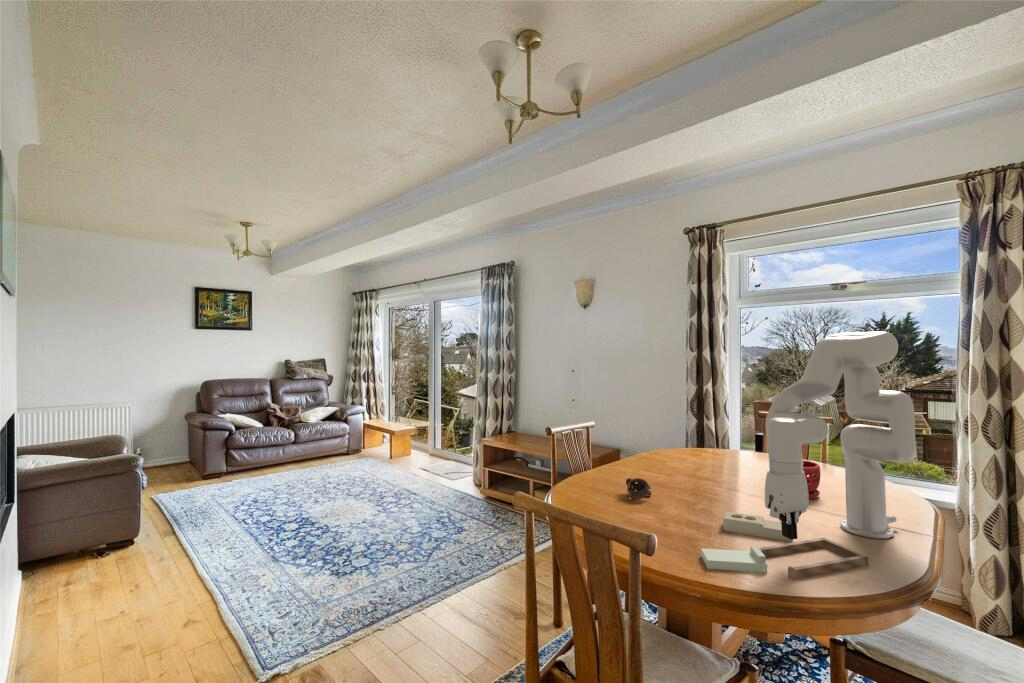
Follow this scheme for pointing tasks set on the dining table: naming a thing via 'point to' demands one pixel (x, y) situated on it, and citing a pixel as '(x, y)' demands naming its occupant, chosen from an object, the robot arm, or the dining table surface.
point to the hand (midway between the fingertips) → (789, 537)
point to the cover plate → (735, 559)
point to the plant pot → (812, 478)
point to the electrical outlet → (753, 525)
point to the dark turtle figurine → (637, 488)
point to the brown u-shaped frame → (818, 568)
